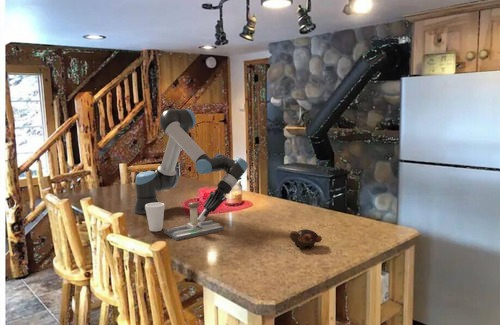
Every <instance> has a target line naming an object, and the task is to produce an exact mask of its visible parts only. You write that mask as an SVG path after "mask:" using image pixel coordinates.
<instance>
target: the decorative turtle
mask: <svg viewBox="0 0 500 325" xmlns="http://www.w3.org/2000/svg"><path fill="white" fill-rule="evenodd" d="M289 238H290V240H291V241H292V242H293V243H294V245H295V246H296V247H299V249H300V250H304V249H305V248H306V247H308V248H309V249H313V248H314V246H315V244H316V243H320V242H322V240H323V237H322V236H321V235H319V234H318V233H317V232H316V231H313V230H312V229H309V228H308V229H300V230H299V231H296V230H292V231H291V232H290V233H289ZM312 247H313V248H312Z"/></svg>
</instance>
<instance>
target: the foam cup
mask: <svg viewBox="0 0 500 325" xmlns="http://www.w3.org/2000/svg"><path fill="white" fill-rule="evenodd" d="M165 207H166V206H165V203H163V202H159V203H157V202H156V203H149V204H146V205H145V210H146V214H145V215H146V218H147V224H148V229H149V231H150V232H160V231H162V230H163V227H164V226H163V224H164V214H165Z"/></svg>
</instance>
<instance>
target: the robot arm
mask: <svg viewBox="0 0 500 325" xmlns="http://www.w3.org/2000/svg"><path fill="white" fill-rule="evenodd" d="M196 124H197V118H196V116H195V113H194V112H193V110H192V109H188V108H175V109H174V108H173V109H172V108H171V109H166V110H165V111H163V112H162V113H161V114H160V117H159V125H160V126H159V127H160V128H161V130H162V131H163V132H164V133H165V135H166V136H169V137H168V141H167V144H166V146H165V147H166V148H165V151H164V153H163V158H162V161H161V165H159V166H157V168H156V171H153V170H147V171H141V172H139V173H138V174H136V176H135V190H136V191H135V193H136V194H135V195H136V200H135V205H134V207H133V210H134V212H133V213H135V214H137V215H138V214H139V215H147V214H146V210H145V205H146V204H149V203H156V202H157V203H160V202H159V200H158V197H157V192H161V191H162V192H163V191H167V190H172V189H174V188H175V187H176V186H177V184H178V180H179V177H178V174H177V170H176V166H177V163H178V160H179V157H180V153H181V150H183V151H184V153H185V154H186V155H187V156H188V157H189V158H190V160H192V162H193V163H194V164H195V167H194V168H195V169H196V172H197V173H198V174H199V175H208V174H211V173H216V172H221V171H224V172H225V173H224V176H222V178H221V180H219V182H218V183H217V185H216V186H217V188H216V189H215V190H214V191H210V193H209V196H208V198H207V200H206V201H205V202H204V205H203V207H204V209H203V211H201V213H200V214H199V215H198V222H199V223H200V222H205V220H206V218H207V217H208V215H209V214H210V213H211V212H212V213H214V212H215V211H216V210H217V209H218V208H220V205H221V204H222V203H223V202H224V201H226V200H227V199H228V198H227V197H226V196H227V195H229V194H230V193H231V191H232V189H233V188H234V187H235V186H236V185H237V183H238V181H239V180H240V179H241V177H242V176H243V175H244V174H245V173H246V171H247V169H248V168H249V163H248V162H247V161H246V160H245V159H244V158H241V157H237V158H236V159H232V158H230V157H228V156H226V154H222V153H216V154H215V155H214V156H213V157H210V156H209V155H208V154H207V153H206V152H205V151H204V150H203V149H202V148H201V147H200V146H199V145H198V143H197V142H196V141H195V140H194V139H193V138H191V136H190V135H189V133H190V130H192V129H193V128H194V127H195V126H196Z"/></svg>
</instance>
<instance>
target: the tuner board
mask: <svg viewBox="0 0 500 325" xmlns="http://www.w3.org/2000/svg"><path fill="white" fill-rule="evenodd" d="M198 223H199V224H201V225H202V227H201V228H202V229H200V228H194V229H189V228H187V224H186V225H181V226H176V227H171V228H167V229H164V230H163V233H164V234H165V235H167V236H168V237H170V238H171V237H172V238H171V239H173V240H174V241H178V240H179V239H180V240H185V239H189V238H194V237H198V236H202V235H207V234H211V233H216V232H220V231H224V228H225V227H224V226H222V225H220V223H215V222H213V220H212V219H211V220H207V221H205V220H204V221H203V222H200V221H199V222H198ZM184 238H185V239H184ZM180 240H179V241H180Z"/></svg>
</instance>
